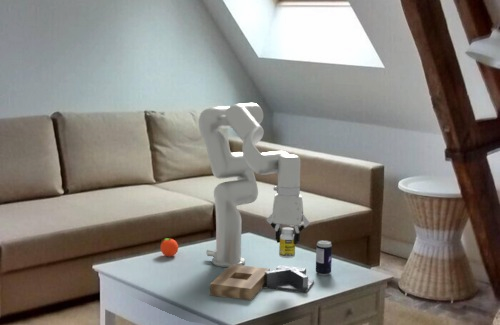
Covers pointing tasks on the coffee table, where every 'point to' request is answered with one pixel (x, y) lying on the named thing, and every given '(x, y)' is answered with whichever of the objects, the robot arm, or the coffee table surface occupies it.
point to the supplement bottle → (287, 243)
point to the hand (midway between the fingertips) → (287, 242)
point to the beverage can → (323, 257)
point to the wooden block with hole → (239, 282)
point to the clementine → (169, 247)
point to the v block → (288, 279)
